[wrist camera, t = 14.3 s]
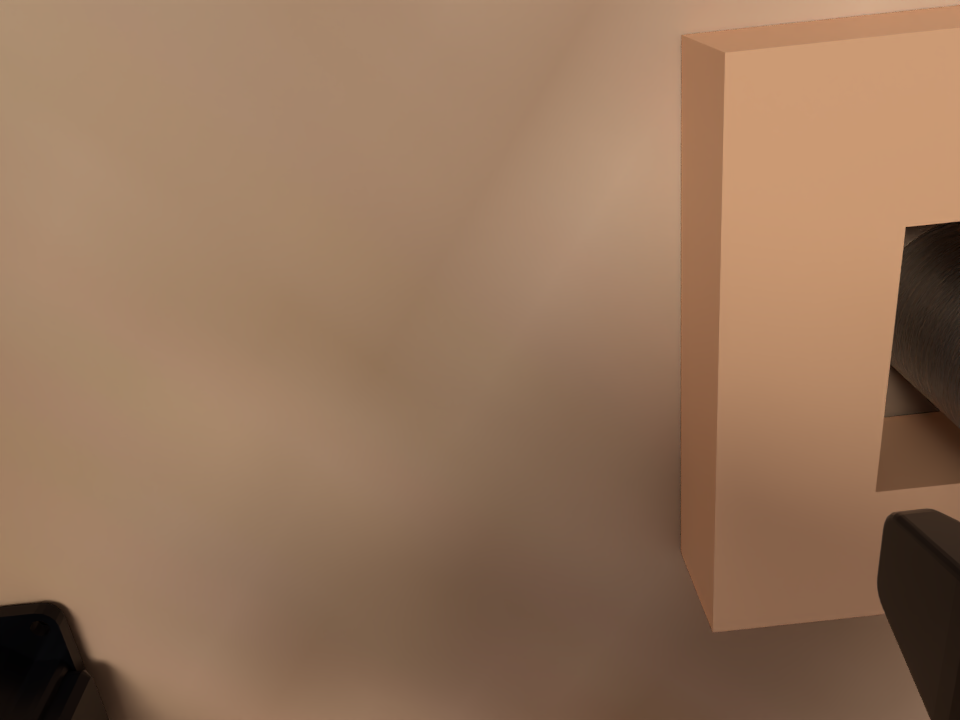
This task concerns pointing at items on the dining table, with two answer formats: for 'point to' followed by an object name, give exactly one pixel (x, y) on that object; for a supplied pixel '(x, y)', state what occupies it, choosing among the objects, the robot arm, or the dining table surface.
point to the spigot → (931, 318)
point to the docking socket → (807, 304)
